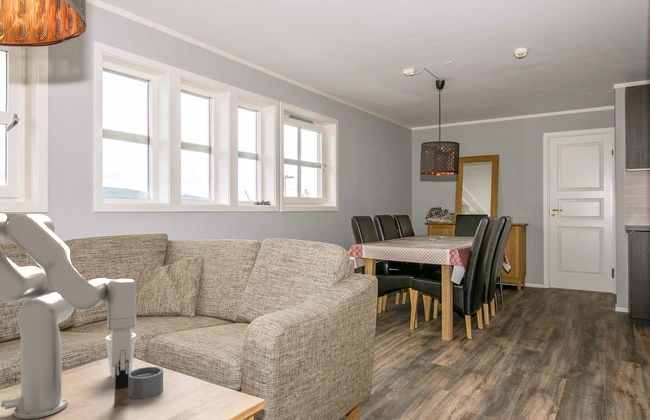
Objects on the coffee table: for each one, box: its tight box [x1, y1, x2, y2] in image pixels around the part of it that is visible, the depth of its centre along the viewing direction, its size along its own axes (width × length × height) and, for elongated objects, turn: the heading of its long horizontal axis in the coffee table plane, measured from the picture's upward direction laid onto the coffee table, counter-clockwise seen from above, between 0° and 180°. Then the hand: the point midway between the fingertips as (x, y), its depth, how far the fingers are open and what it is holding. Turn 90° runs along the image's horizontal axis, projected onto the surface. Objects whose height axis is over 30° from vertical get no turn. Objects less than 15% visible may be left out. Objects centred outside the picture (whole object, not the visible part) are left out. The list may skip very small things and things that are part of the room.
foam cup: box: [105, 332, 137, 379], centre depth 148 cm, size 10×9×13 cm
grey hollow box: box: [133, 372, 157, 377], centre depth 133 cm, size 7×5×4 cm
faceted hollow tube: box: [128, 366, 164, 400], centre depth 133 cm, size 10×10×6 cm
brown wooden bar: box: [113, 361, 129, 408], centre depth 124 cm, size 4×2×14 cm
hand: (121, 386), depth 124 cm, fingers closed on brown wooden bar, 2 cm apart
